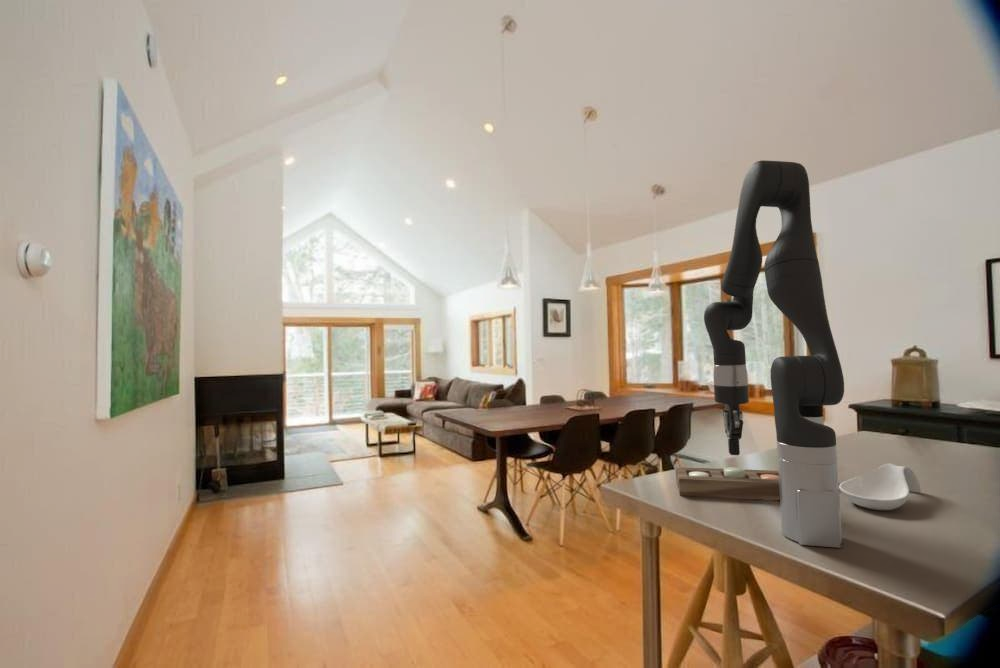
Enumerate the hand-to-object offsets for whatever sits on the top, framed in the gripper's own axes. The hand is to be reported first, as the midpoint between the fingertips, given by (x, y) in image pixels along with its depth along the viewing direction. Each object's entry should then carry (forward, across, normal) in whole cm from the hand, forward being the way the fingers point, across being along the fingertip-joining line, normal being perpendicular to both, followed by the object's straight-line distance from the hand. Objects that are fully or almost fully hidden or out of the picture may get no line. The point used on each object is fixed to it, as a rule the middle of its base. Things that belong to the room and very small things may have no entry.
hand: (734, 454), depth 113 cm
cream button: (+8, -1, +8) cm, 11 cm away
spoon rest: (+9, -1, -30) cm, 31 cm away
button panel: (+9, 0, 0) cm, 9 cm away
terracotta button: (+8, 0, -8) cm, 11 cm away
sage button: (+7, 0, 0) cm, 7 cm away
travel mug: (+9, +12, -20) cm, 25 cm away
